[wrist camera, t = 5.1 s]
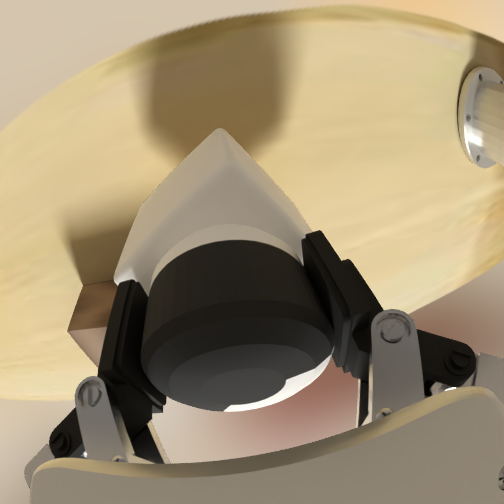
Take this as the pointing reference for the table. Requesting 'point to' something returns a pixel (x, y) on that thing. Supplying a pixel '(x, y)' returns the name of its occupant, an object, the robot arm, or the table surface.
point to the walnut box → (92, 317)
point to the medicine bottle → (225, 284)
